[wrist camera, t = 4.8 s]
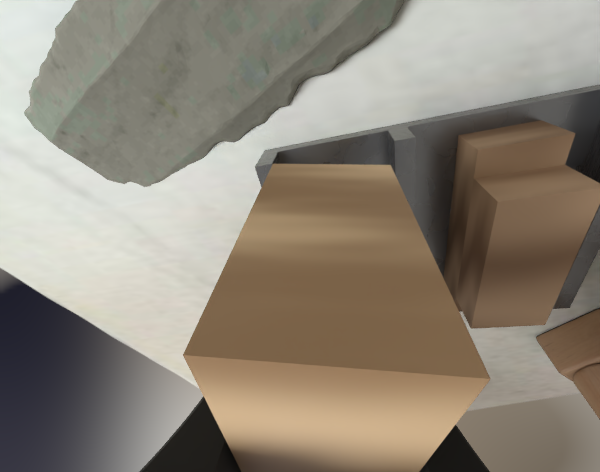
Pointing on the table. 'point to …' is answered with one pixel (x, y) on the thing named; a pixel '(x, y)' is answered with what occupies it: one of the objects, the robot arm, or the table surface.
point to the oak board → (333, 330)
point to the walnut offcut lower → (496, 173)
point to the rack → (442, 158)
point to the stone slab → (184, 74)
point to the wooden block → (577, 354)
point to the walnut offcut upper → (522, 243)
